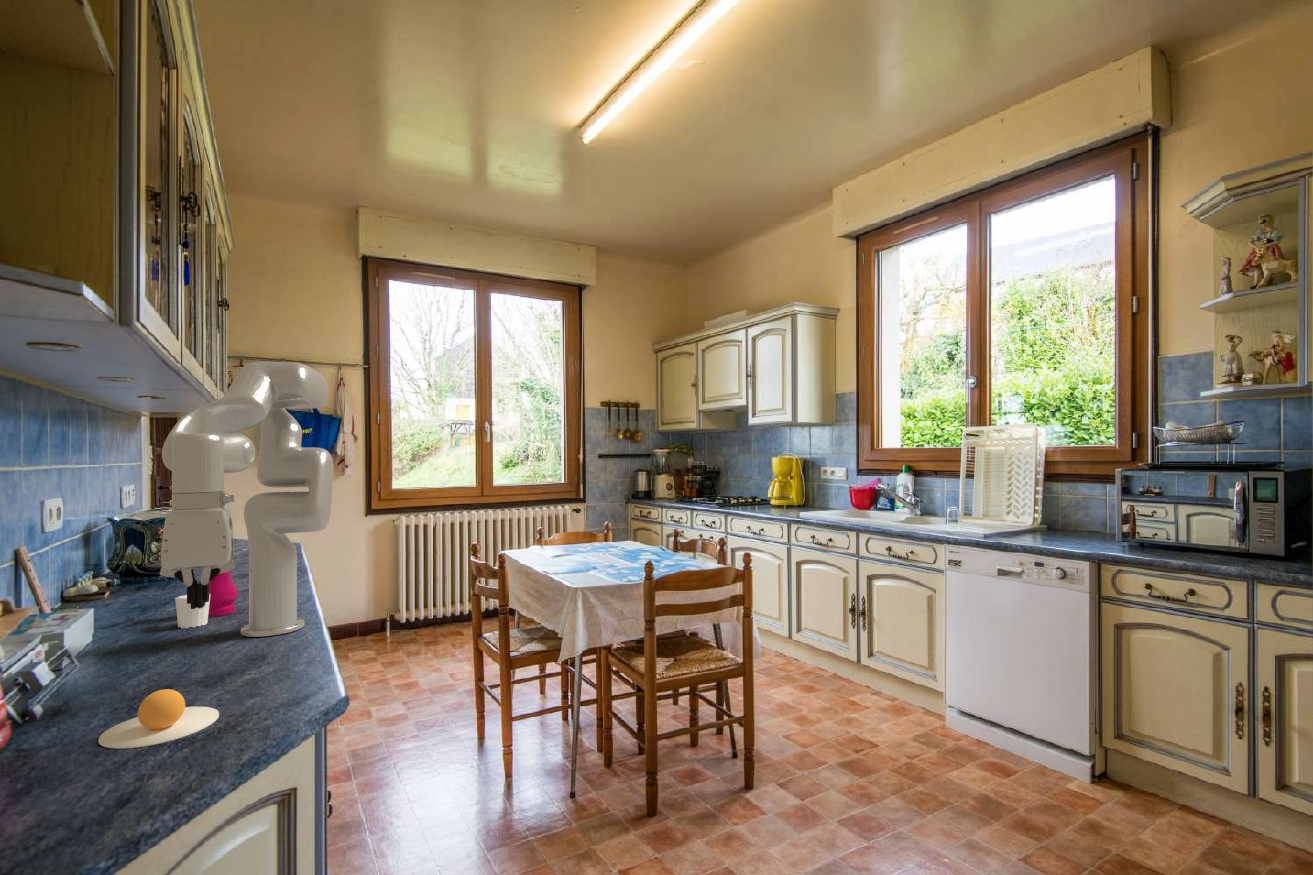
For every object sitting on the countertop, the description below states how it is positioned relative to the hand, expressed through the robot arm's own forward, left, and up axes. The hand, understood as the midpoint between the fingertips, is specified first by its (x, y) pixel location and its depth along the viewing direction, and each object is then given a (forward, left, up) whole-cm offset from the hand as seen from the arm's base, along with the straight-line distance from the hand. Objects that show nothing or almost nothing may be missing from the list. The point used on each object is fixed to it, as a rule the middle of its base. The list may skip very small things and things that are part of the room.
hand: (198, 606), depth 112 cm
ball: (+20, -1, -11) cm, 22 cm away
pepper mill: (-60, -6, -14) cm, 62 cm away
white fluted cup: (-50, -10, -14) cm, 53 cm away
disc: (+19, -1, -13) cm, 23 cm away
